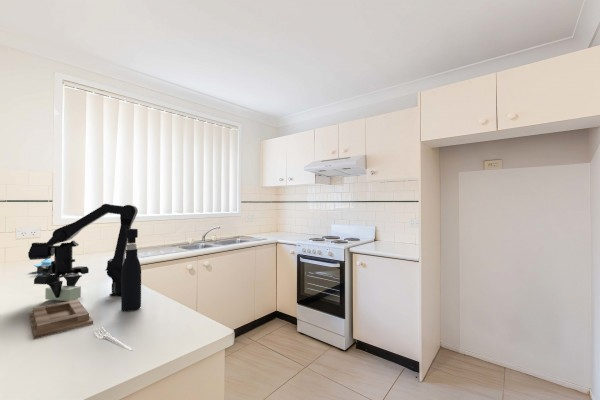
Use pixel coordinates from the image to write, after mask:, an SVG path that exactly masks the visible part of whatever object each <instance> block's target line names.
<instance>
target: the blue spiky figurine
mask: <svg viewBox="0 0 600 400" xmlns="http://www.w3.org/2000/svg"><path fill="white" fill-rule="evenodd" d="M52 261H53V260H52V259H42V260H41V263H36V264H33V266H34V267H36V268H37V267H38V266H42V265H45V266H50V265H51V262H52ZM37 274H38V273H37ZM41 275H42V274H38V276H41Z"/></svg>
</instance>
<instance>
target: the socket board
mask: <svg viewBox="0 0 600 400" xmlns="http://www.w3.org/2000/svg"><path fill="white" fill-rule="evenodd" d="M28 314H29V320H30V326H31V329H32V335H33V339H39V338H43V337H47V336H51V335H55V334H60V333H62V332H66V331H70V330H75V329H79V328H84V327H86V326H90V325H94V320H93V319H92V317H91V315H90V313H89V311H88V310H87V309H86V308H85V306H84V305H83V304H82V302H81V301H80V299H79V298H77V299H74V300H71V301H63V302H57V303H51V304H48V305H41V306H38V307H33V308H32V312H29V313H28Z"/></svg>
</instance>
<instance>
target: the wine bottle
mask: <svg viewBox="0 0 600 400" xmlns="http://www.w3.org/2000/svg"><path fill="white" fill-rule="evenodd" d="M138 230H139V229H138V228H131V229H126V238H128V243H127V248H126V252H125V260H124V263H123V267H122V274H121V297H120V298H121V300H120V304H121V305H120V307H121V308H120V309H121V312H123V313H124V312H132V311H133V312H134V311H137V310H139V309H141V308H142V267H141V263H140V259H139V257H138V249H137V246H138V245H137V243H136V241H137V240H136V238H138ZM140 307H141V308H140Z"/></svg>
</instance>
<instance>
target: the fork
mask: <svg viewBox="0 0 600 400" xmlns="http://www.w3.org/2000/svg"><path fill="white" fill-rule="evenodd" d="M102 330H103V331H102ZM93 333H94V336H95V338H97V339H99V337H100V339H99V340H104V339H105V340H108V341H110V342H112V343H113V344H116V345H117V344H118V345H117V346H119V345H120V346H119V347H121V346H122V348H124V349H126V350H128V351H129V352H131V351H132V352H133V350H134V349H133V348H131V347H130V346H128V345H126V344H125V343H124V342H121V341H120V340H118V339H117V338H116V337H113V336H112V334H111V335H109V334H110V332H108V331H107V330H106V329H105V327H103V326H101V327H98V328H97V327H96V328H93ZM106 334H107V335H106ZM103 336H105V337H103ZM101 337H102V338H101Z"/></svg>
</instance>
